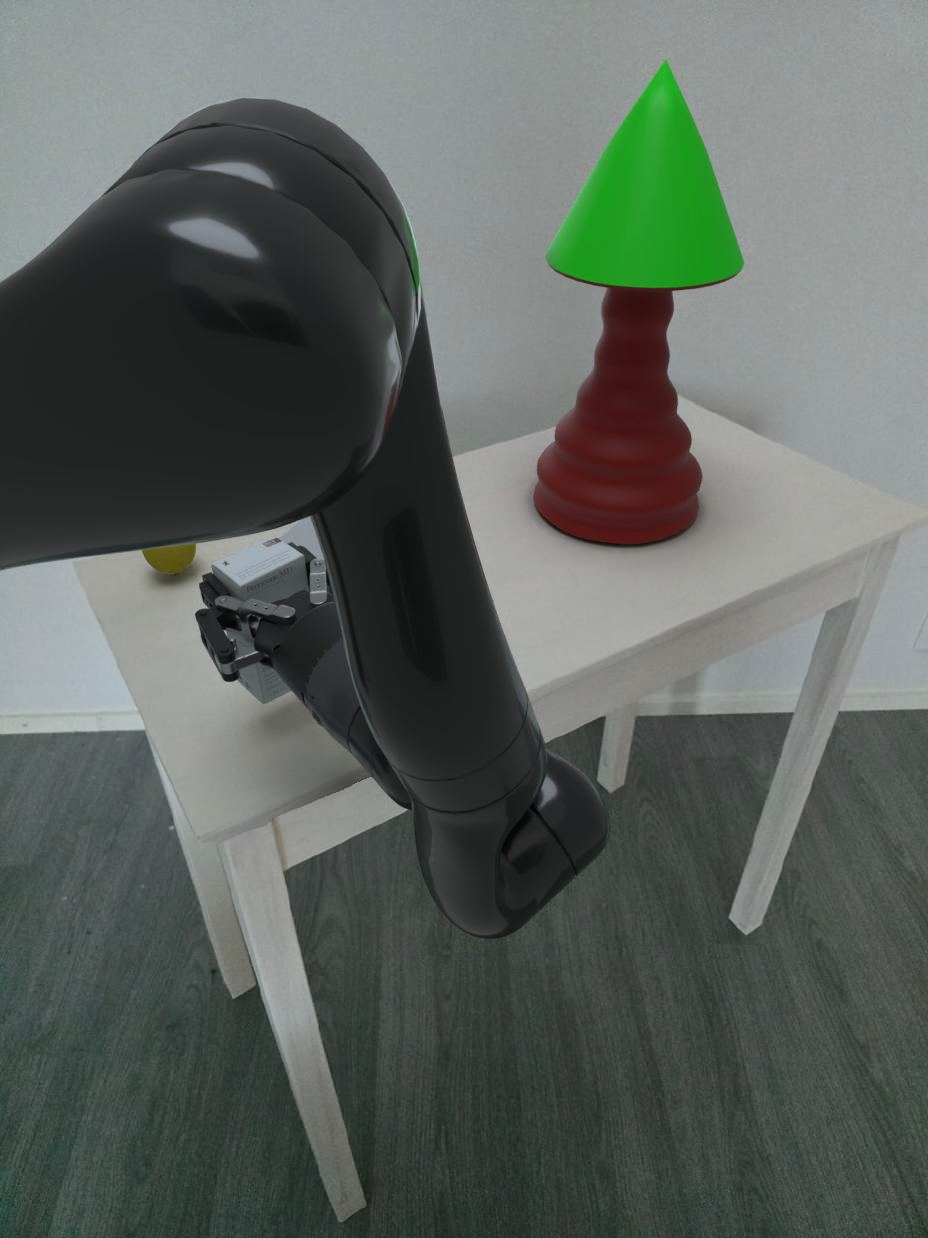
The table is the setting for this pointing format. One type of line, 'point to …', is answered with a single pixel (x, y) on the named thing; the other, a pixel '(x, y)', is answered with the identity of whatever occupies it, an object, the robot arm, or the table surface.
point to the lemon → (170, 558)
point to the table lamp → (636, 325)
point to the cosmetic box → (262, 598)
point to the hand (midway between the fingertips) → (249, 567)
